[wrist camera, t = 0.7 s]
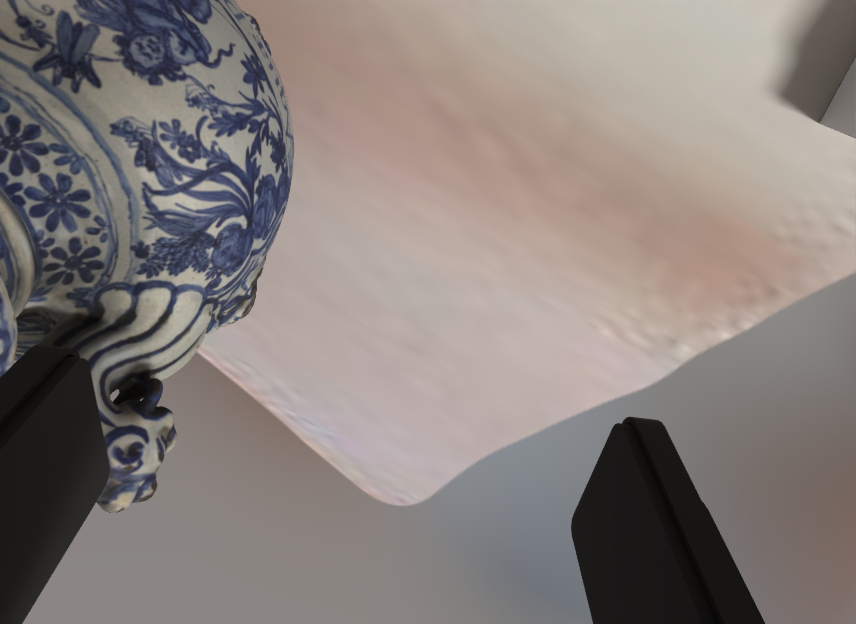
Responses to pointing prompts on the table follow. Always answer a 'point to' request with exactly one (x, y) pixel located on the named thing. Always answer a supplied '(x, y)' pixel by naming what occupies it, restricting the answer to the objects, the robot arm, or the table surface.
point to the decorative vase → (135, 196)
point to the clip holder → (843, 106)
